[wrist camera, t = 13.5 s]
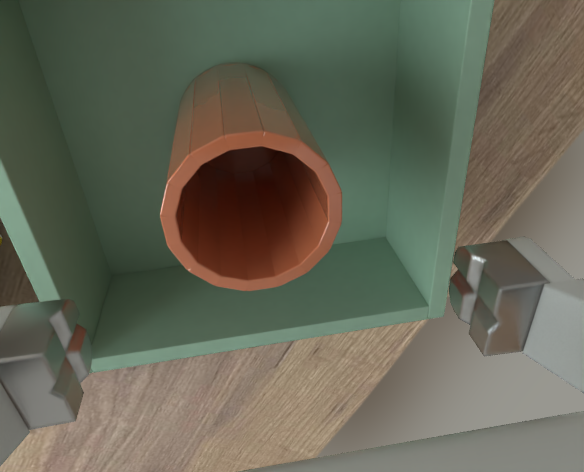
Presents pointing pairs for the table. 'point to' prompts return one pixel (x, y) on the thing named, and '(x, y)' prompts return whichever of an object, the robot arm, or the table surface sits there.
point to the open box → (157, 145)
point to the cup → (246, 183)
